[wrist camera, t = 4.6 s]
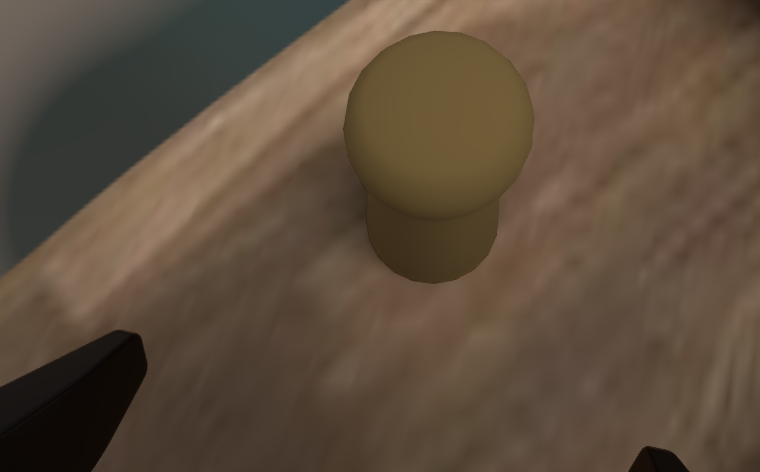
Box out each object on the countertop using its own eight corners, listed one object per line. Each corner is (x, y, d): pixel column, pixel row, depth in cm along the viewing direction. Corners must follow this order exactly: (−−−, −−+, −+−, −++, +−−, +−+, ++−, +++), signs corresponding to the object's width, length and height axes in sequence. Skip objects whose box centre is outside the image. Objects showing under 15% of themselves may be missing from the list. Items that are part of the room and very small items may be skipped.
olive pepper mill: (469, 139, 24) (506, -40, 13) (519, 256, 22) (608, 162, 11) (349, 182, 24) (288, 38, 13) (391, 302, 22) (361, 250, 11)
